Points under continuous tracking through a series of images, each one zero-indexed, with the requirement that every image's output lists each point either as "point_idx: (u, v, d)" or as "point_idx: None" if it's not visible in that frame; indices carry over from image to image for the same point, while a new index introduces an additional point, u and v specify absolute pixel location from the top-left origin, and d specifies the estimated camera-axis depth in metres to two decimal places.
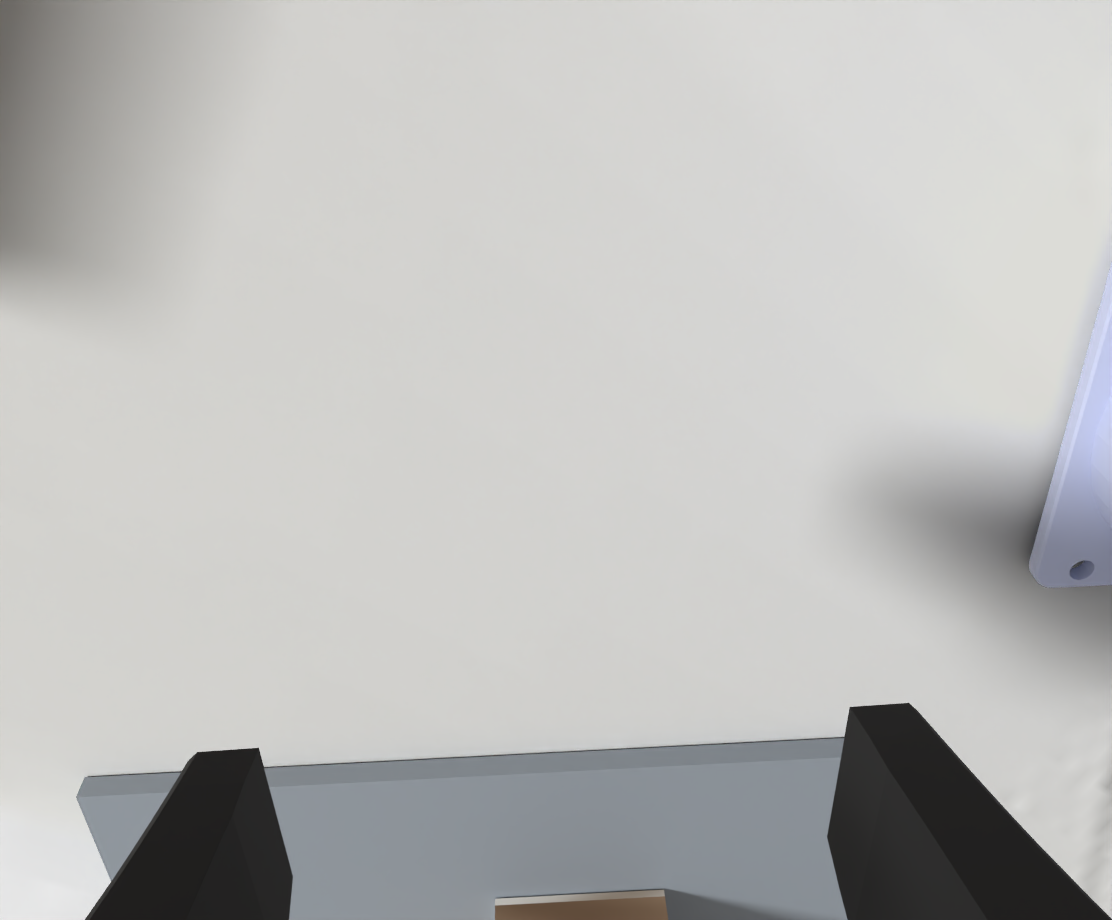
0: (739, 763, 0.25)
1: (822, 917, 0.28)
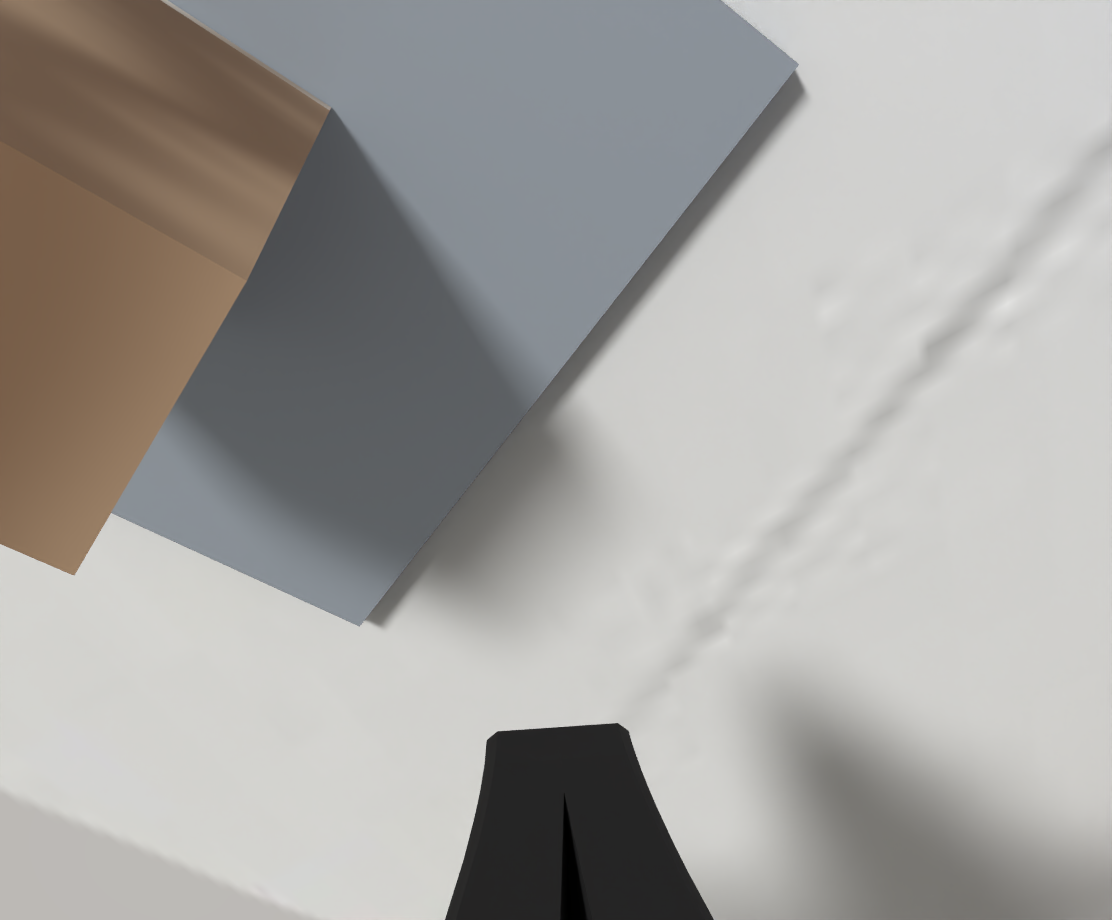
0: None
1: (505, 330, 0.19)
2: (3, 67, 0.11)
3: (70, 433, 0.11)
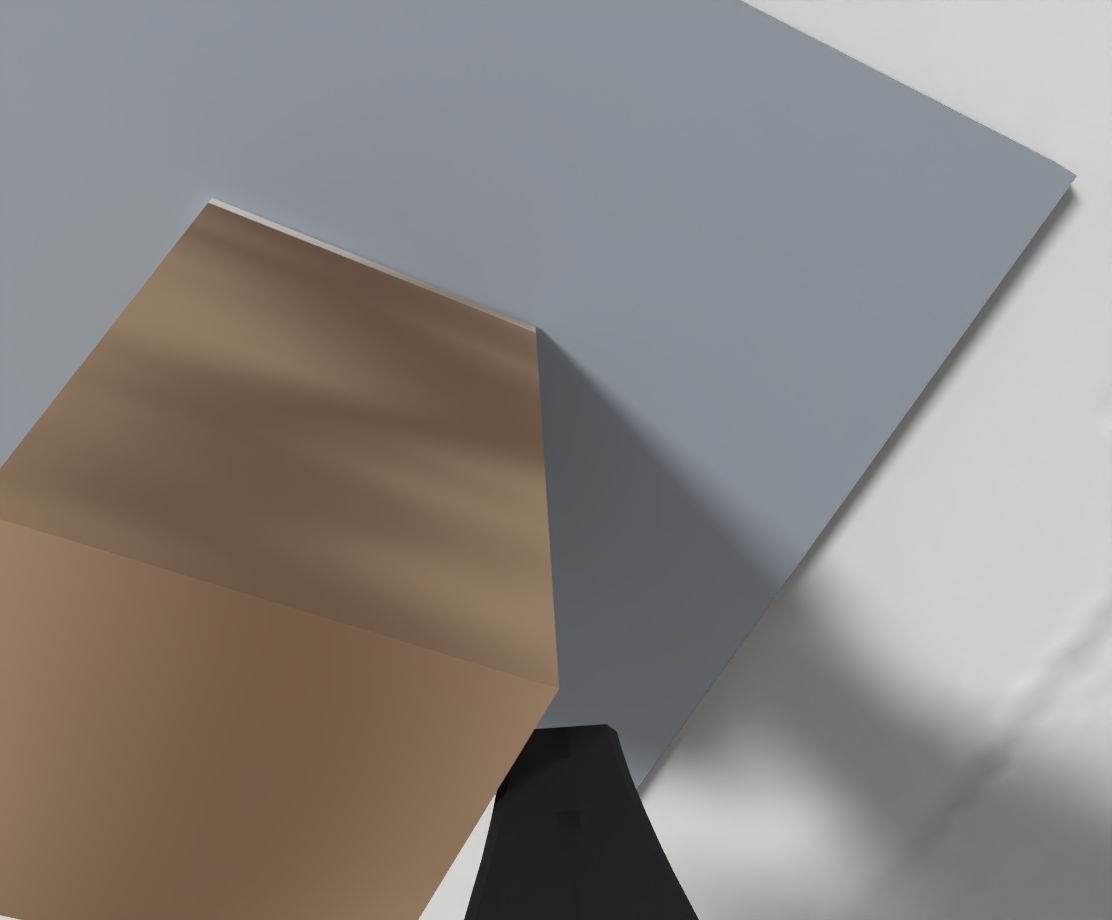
0: (820, 47, 0.13)
1: (748, 514, 0.16)
2: (227, 461, 0.09)
3: (359, 865, 0.09)
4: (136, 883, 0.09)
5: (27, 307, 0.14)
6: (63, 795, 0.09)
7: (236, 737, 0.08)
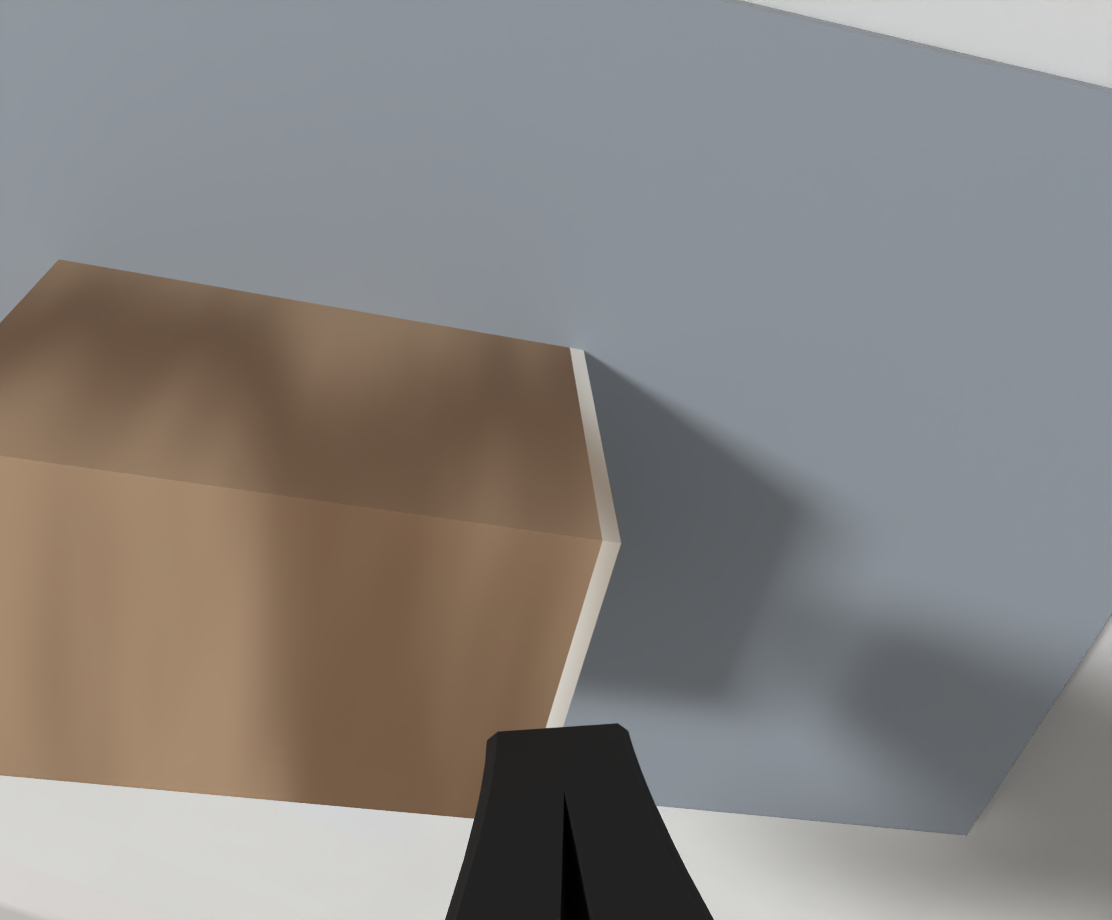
0: None
1: (1088, 533, 0.17)
2: (154, 328, 0.12)
3: None
4: None
5: None
6: None
7: None
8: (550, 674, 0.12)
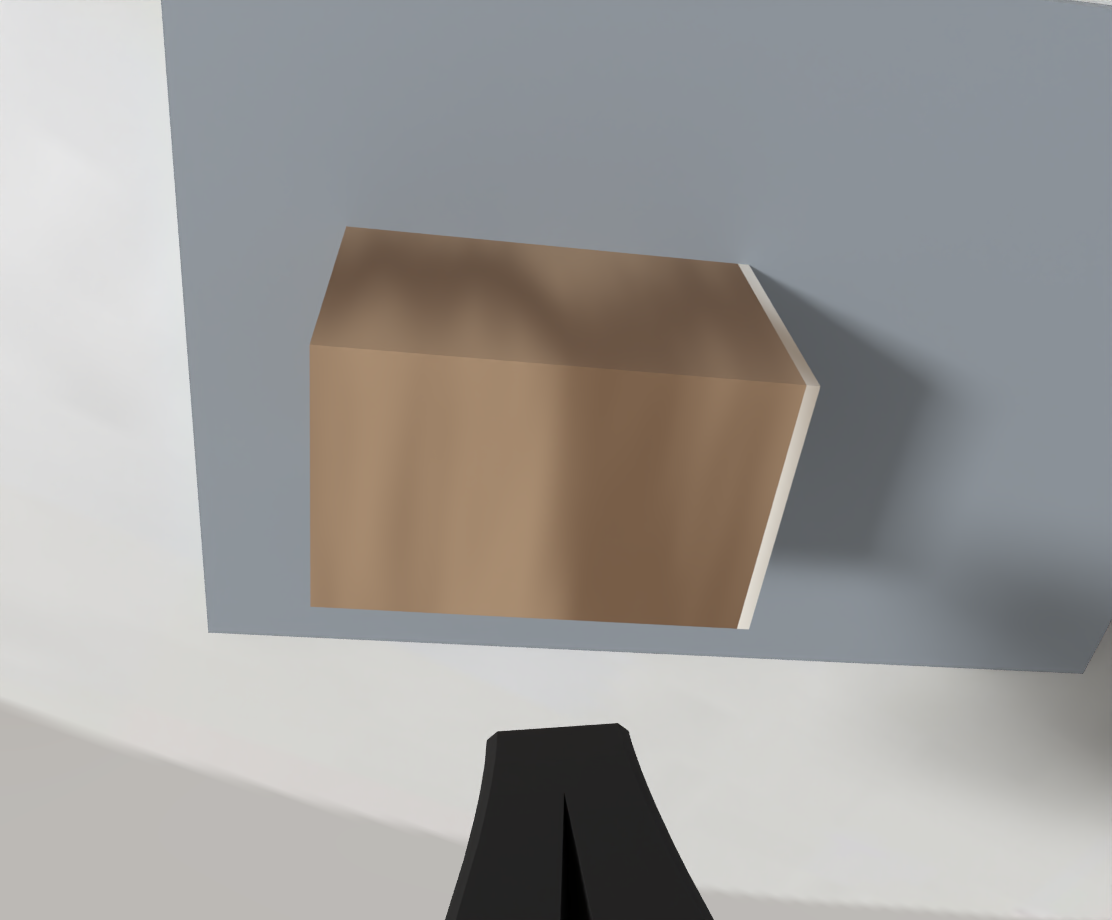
0: None
1: None
2: (436, 268, 0.16)
3: None
4: None
5: None
6: None
7: None
8: (765, 498, 0.15)
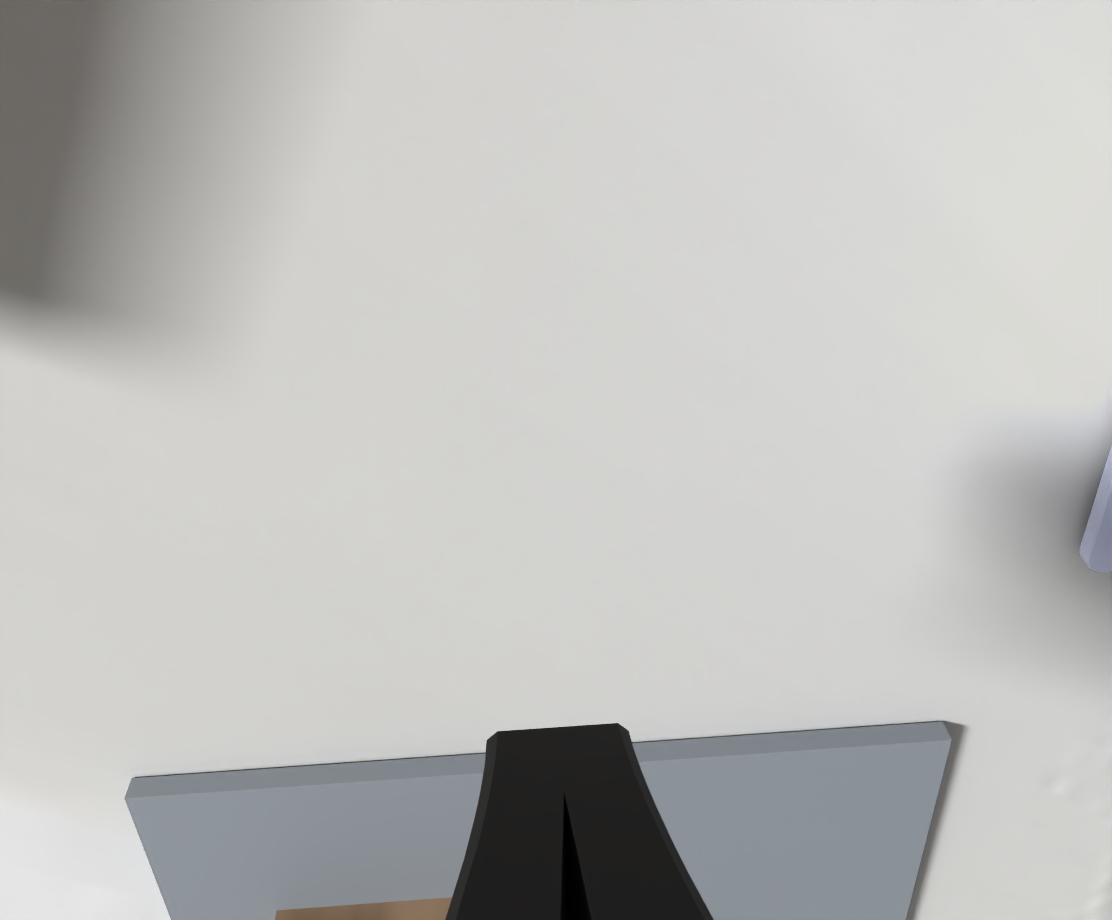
0: (789, 752, 0.25)
1: (864, 904, 0.29)
2: None
3: None
4: None
5: None
6: None
7: None
8: None
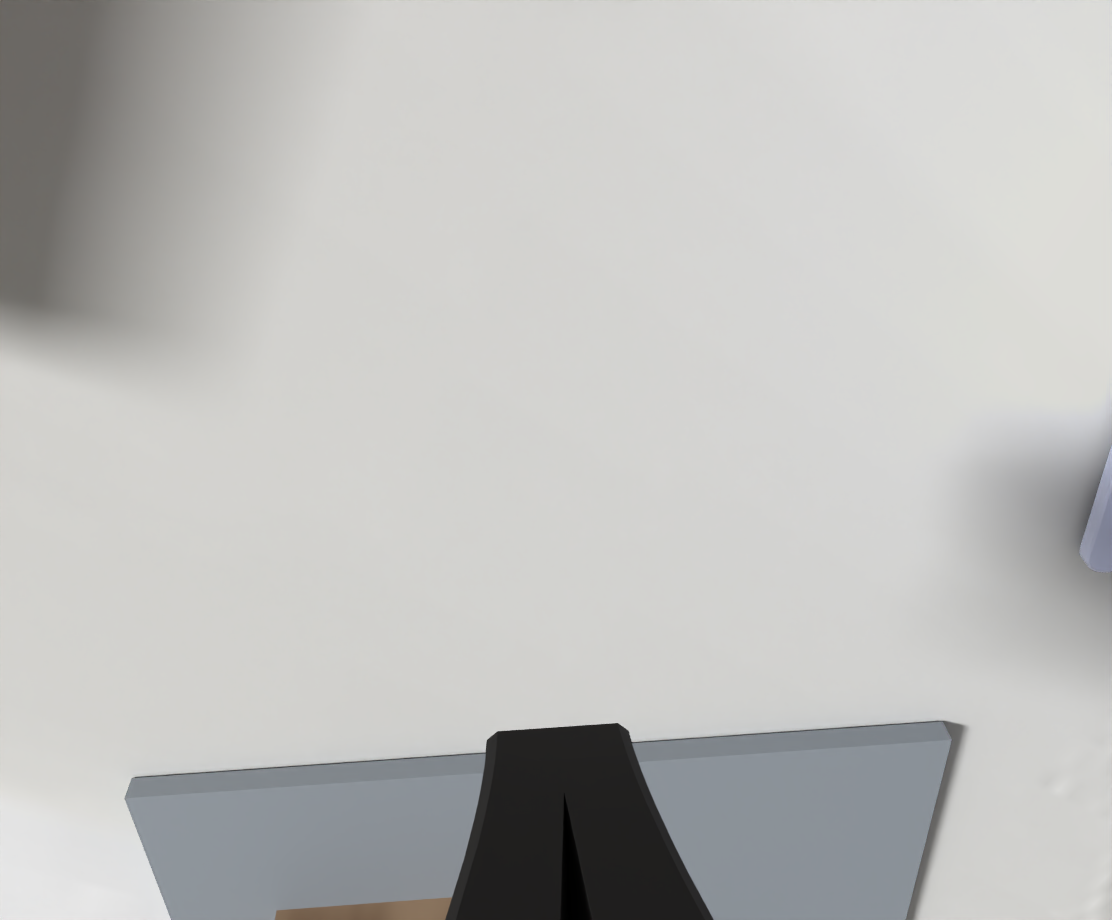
0: (789, 752, 0.25)
1: (864, 904, 0.29)
2: None
3: None
4: None
5: None
6: None
7: None
8: None
